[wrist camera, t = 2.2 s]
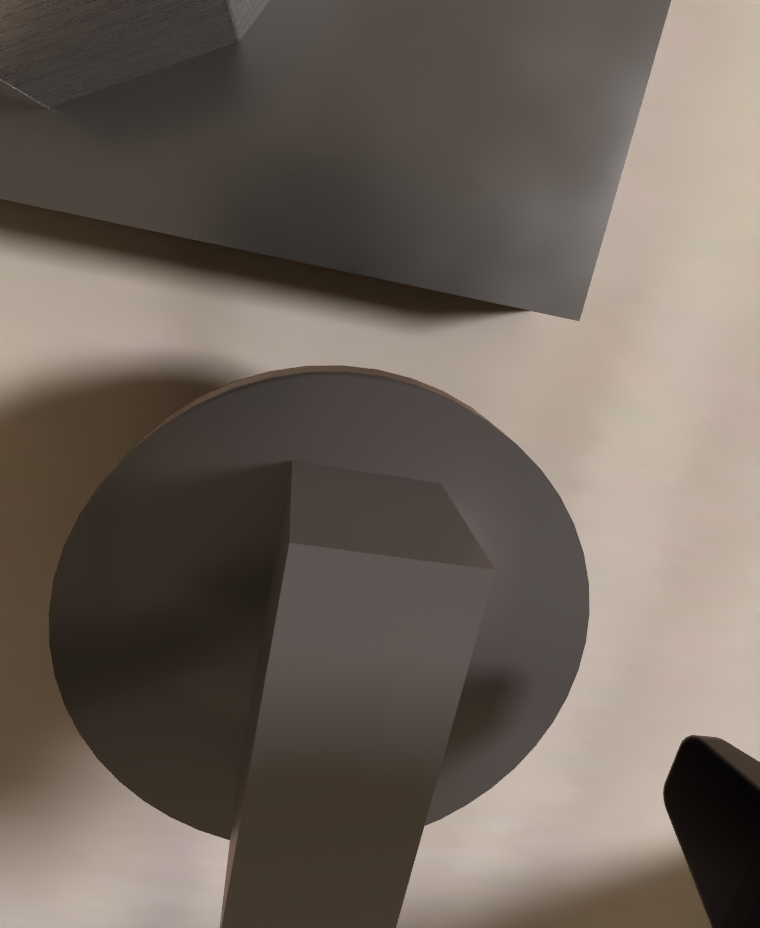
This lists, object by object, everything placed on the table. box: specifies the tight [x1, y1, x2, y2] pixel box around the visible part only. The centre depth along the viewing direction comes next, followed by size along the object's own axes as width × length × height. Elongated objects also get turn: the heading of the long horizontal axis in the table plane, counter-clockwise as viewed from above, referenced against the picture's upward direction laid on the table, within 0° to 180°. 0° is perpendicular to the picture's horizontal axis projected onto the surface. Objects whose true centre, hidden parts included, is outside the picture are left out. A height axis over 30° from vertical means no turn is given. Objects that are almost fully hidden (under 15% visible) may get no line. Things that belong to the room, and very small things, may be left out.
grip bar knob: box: [49, 366, 589, 928], centre depth 10 cm, size 8×8×6 cm
